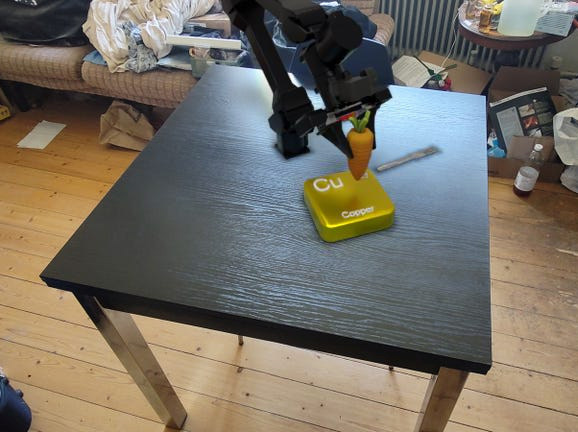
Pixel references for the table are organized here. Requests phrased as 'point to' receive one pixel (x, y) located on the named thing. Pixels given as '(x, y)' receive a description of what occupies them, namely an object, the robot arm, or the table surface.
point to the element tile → (347, 205)
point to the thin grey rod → (408, 158)
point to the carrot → (359, 145)
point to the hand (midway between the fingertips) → (363, 154)
